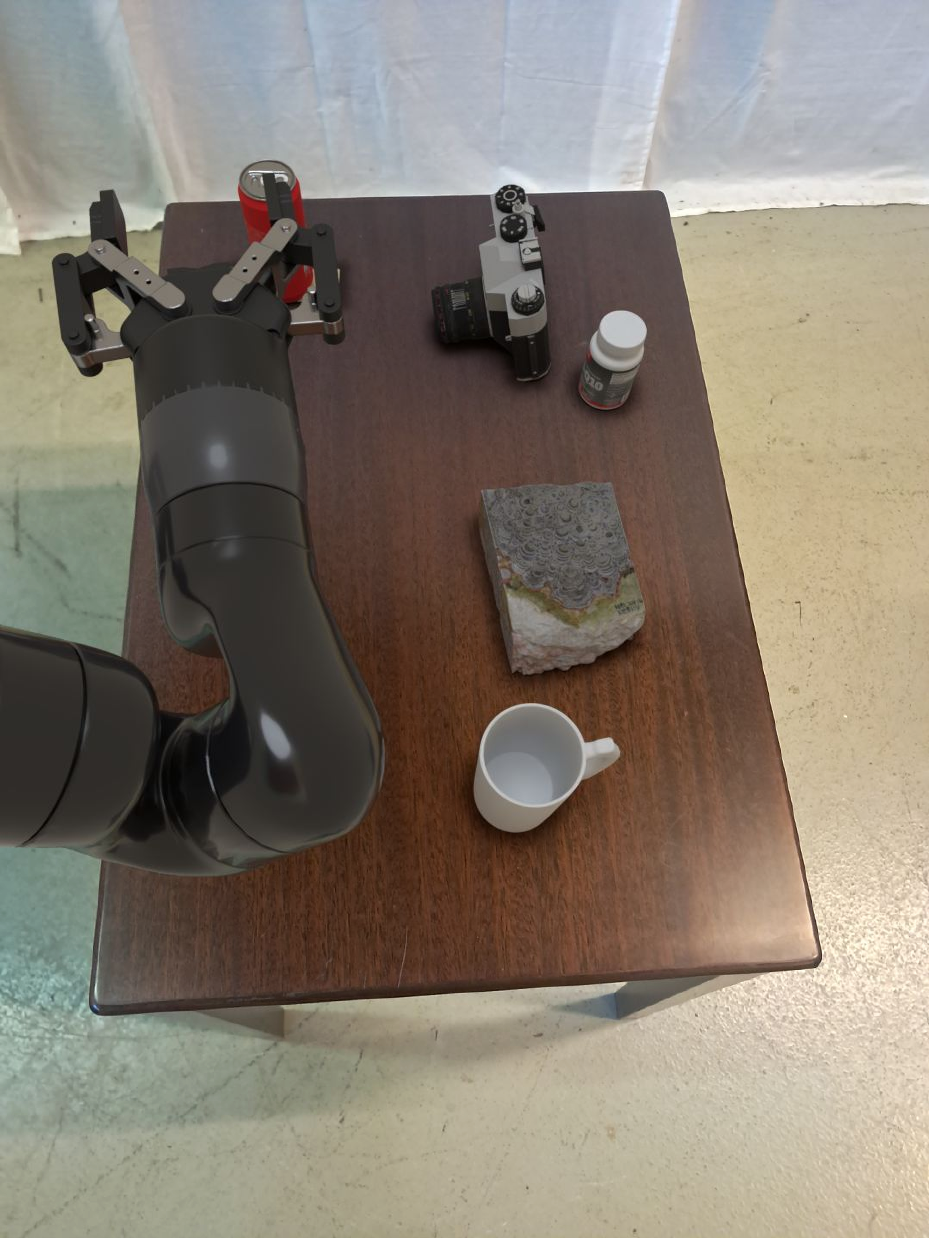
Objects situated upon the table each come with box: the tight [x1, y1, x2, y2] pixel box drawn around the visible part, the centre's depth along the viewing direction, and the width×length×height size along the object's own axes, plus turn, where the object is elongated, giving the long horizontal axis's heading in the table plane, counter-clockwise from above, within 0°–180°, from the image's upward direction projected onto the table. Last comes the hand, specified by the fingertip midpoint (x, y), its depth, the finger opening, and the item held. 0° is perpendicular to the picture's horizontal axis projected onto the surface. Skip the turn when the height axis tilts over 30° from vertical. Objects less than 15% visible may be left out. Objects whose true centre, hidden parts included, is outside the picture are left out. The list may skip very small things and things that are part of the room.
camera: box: [430, 183, 552, 382], centre depth 79 cm, size 15×11×10 cm
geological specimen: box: [478, 480, 646, 676], centre depth 70 cm, size 11×6×15 cm
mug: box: [473, 702, 621, 833], centre depth 61 cm, size 10×7×12 cm, turn 100°
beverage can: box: [237, 158, 314, 304], centre depth 78 cm, size 5×5×12 cm
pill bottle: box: [578, 310, 648, 411], centre depth 77 cm, size 5×5×8 cm
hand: (191, 194), depth 48 cm, fingers open, 8 cm apart
